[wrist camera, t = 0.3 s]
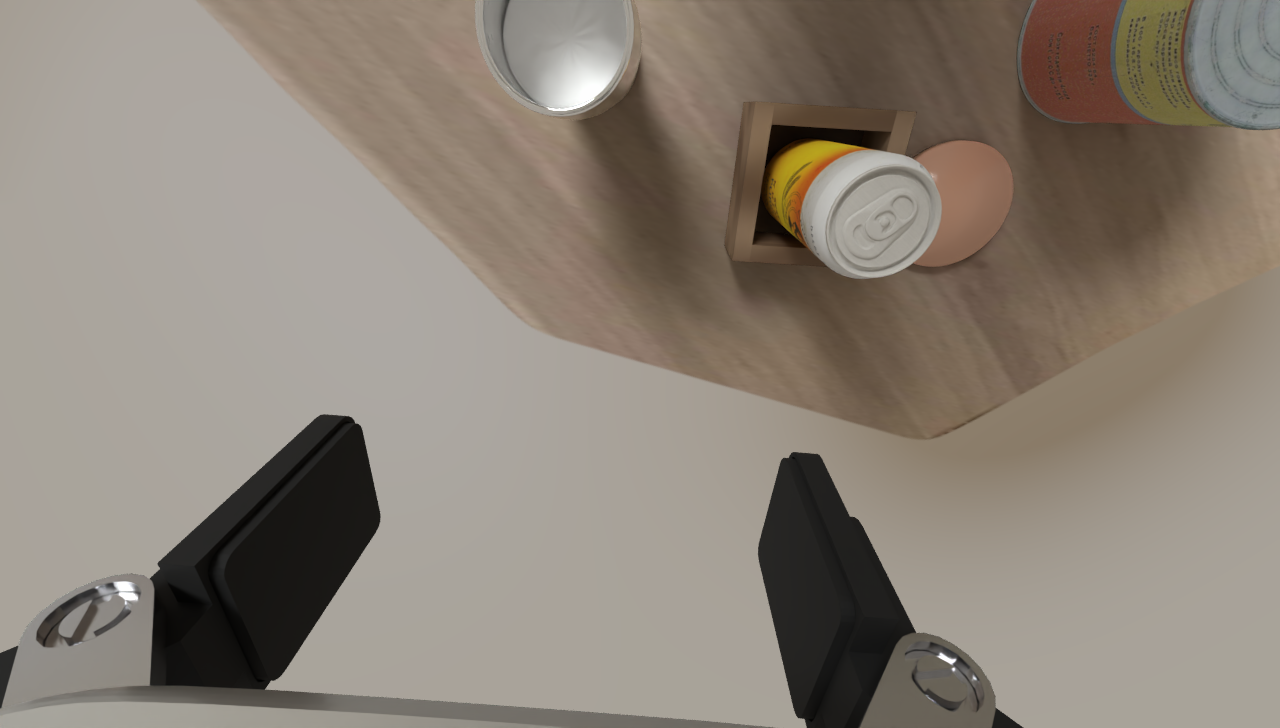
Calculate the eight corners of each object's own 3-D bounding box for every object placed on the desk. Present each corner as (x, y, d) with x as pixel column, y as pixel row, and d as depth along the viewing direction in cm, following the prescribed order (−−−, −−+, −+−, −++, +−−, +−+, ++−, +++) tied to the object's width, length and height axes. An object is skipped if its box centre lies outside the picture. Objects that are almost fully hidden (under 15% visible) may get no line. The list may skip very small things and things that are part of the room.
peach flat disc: (901, 136, 35) (906, 136, 34) (1026, 144, 35) (1034, 144, 35) (867, 260, 39) (871, 263, 39) (980, 267, 39) (986, 270, 39)
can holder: (743, 102, 34) (755, 101, 30) (886, 111, 34) (916, 111, 30) (724, 245, 39) (732, 260, 35) (850, 253, 39) (872, 269, 35)
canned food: (1170, 112, 34) (1404, 114, 24) (999, 132, 35) (1151, 143, 24) (1242, -101, 29) (1583, -223, 18) (1040, -72, 30) (1255, -172, 19)
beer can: (742, 180, 37) (793, 221, 23) (811, 117, 35) (909, 123, 21) (790, 240, 39) (862, 309, 25) (858, 184, 37) (974, 227, 23)
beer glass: (662, 85, 34) (668, 70, 21) (575, 135, 36) (529, 151, 22) (614, -28, 31) (585, -128, 18) (522, 32, 33) (433, -19, 20)
